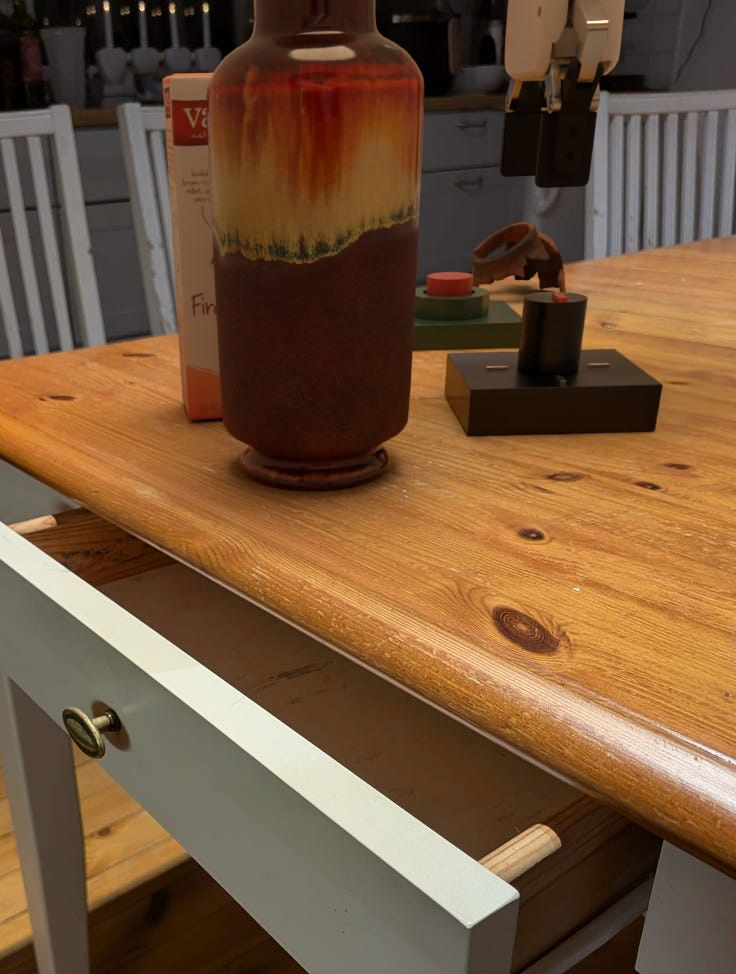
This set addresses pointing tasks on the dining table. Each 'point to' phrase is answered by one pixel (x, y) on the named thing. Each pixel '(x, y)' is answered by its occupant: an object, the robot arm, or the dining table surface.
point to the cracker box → (193, 242)
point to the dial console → (551, 395)
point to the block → (464, 322)
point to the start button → (449, 284)
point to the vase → (315, 240)
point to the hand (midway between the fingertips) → (540, 180)
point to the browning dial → (552, 332)
